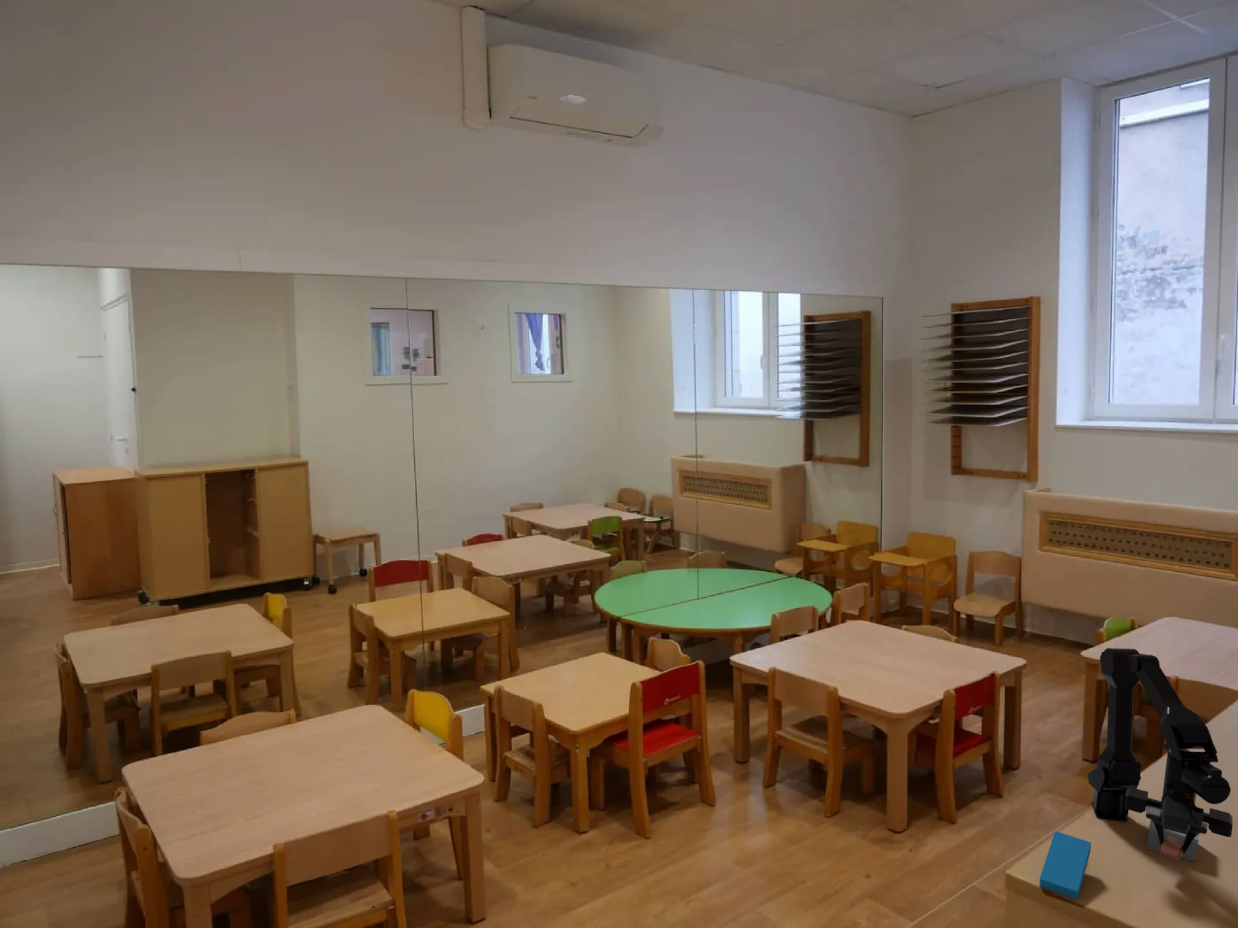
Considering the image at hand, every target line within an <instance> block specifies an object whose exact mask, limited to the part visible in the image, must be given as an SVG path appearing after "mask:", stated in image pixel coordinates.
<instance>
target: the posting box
mask: <svg viewBox="0 0 1238 928" xmlns="http://www.w3.org/2000/svg"><path fill="white" fill-rule="evenodd" d="M1149 820H1150V822H1149V828H1148V836H1147V843H1146V844H1147V845H1146V848H1147V849H1149V850H1154V851H1157V852H1161V845H1160V841H1159V838H1158V834H1157V830H1156V827H1155V825H1154V823H1153V821H1152V820H1151V819H1149ZM1186 832H1187V831H1186V830H1181V829H1180V828H1177V827H1173V826H1167V825H1165V824H1164V841H1165V840H1166V839H1167V837H1168V836H1171V837H1173V838H1176V839H1179V840H1182V841H1184V839H1185V836H1186ZM1199 837H1200V834H1198V835H1197V836H1196V837H1195V838H1194V839H1193V841H1192V842H1191V844H1190V846H1189V847H1188V849H1187V851H1186V852H1185V854H1184V853H1183V855H1182V856H1181V857H1180V858H1179V859H1184V860H1187V861H1192V862H1194V863H1196V862H1197V856H1198V849H1199V840H1200V838H1199Z"/></svg>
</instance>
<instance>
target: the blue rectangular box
mask: <svg viewBox="0 0 1238 928" xmlns="http://www.w3.org/2000/svg"><path fill="white" fill-rule="evenodd" d="M1091 849H1092V842H1091V841H1088V840H1085V839H1083V838H1079V837H1076V836H1072V835H1070V834H1066V833H1063V832H1059V831H1054V833H1053V835H1052V840H1051V843H1050V846H1049V848H1048V852H1047V855H1046V858H1045V861H1044V863H1043V868H1042V871H1041V874H1040V877H1039V888H1043V889H1047V890H1050V891H1052V892H1055V893H1057V892H1058V894H1061V895H1063V894H1064V896H1066V895H1067V896H1066V897H1068V898H1072V899H1075V900H1078V898H1079V896H1080V892H1081V888H1082V884H1083V881H1084V877H1085V873H1086V870H1087V869H1086V868H1087V866H1088V861H1089V858H1090V854H1091Z"/></svg>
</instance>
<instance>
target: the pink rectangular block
mask: <svg viewBox="0 0 1238 928" xmlns="http://www.w3.org/2000/svg"><path fill="white" fill-rule="evenodd" d="M1183 843H1184V841H1182V840H1179V839H1176V838H1173V837H1171V836H1168V837H1167V839H1166V840H1165V841H1164V842H1163V843H1162V844H1161V852H1160V851H1159V852H1160V854H1159V856H1160V857H1163V858H1165V859H1167V860H1170V861H1173V862H1175V863H1177V862H1178V861H1179V860H1180V859H1181V858H1180V857H1181V856H1182V855H1183V853H1182V851H1183Z"/></svg>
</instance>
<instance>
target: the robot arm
mask: <svg viewBox="0 0 1238 928" xmlns="http://www.w3.org/2000/svg"><path fill="white" fill-rule="evenodd" d="M1099 663H1100V668H1101V670H1100V671H1101V674H1102V677H1104V679H1105V680H1106V683H1107V684H1108V701H1107V703H1108V705H1107V733H1106V735H1107V736H1106V737H1107V738H1106V746H1105V748H1104V749H1103V751H1102V753H1100V755H1099V756H1098V760H1097V767H1096V768H1094V769H1092V770H1091V771H1090V772H1088V773H1087V778H1088V779H1087V780H1088V784H1089V785H1090V786H1091V787H1093V789H1094V791H1093V800H1092V801H1091V802H1090V805H1091V808H1092V809H1094V810H1093V812H1094V814H1095V817H1097V818H1101V819H1109V820H1113V821H1119V822H1121V821H1122V822H1128V816H1129V813H1130V812H1129V811H1131V812H1135V813H1139V814H1143V813H1145V817H1146V819H1149V820H1152V821H1153V823H1154V825H1155V827H1156V830H1157V834H1158V838H1159V841H1160V845H1161V844H1162V843H1163V842H1164V824H1165V825H1167V826H1173V827H1177V828H1180V829H1181V830H1186V831H1187V832H1186V836H1185V839H1184V843H1183V851H1182V853H1184V854H1185V852H1186V851H1187V849H1188V847H1189V846H1190V844H1191V842H1192V841H1193V839H1194V838H1195V837H1196V836H1197V835H1198V834H1199V835H1201V834H1202V835H1203V834H1204V835H1206V834H1207V833H1208V829H1209V831H1210V832H1211V833H1212V834H1215V835H1218V836H1222V837H1226V838H1231V837H1232V834H1233V833H1232V832H1233V826H1234V825H1233V816H1232V814H1231V813H1230V812H1227V811H1223V810H1219V809H1216V808H1211V807H1210V808H1209V810H1208V812H1206V811H1205V810H1204V808H1201V807H1199V806H1197V805H1196V800H1197V796H1198V797H1200V798H1201V800H1204V801H1205V803H1208V804H1210V805H1218V804H1221V803H1223V802H1225V801H1227V799H1228V798H1229V797H1230V794H1231V790H1232V789H1231V786H1230V783H1229V782H1228V780H1227V779H1226V778H1225V777H1223V771H1222V769H1220V768H1218V767H1216V766H1214V765H1213V764H1211V763H1219V758H1218V755H1217V754H1218V750H1217V749H1216V746H1215V743H1214V742H1213V738H1212V735H1211V732H1210V730H1209V728H1208V726H1207V725H1206V723H1205V722H1204V721H1203V720H1202V719H1201V717H1200V716H1199V715H1198V714H1197V713H1195V712H1194V711H1192V710H1191V709H1189V708H1187V706H1185V704H1184V703H1183V702H1182V700H1181V699H1180V697H1179V695H1178V694H1177V692H1176V690H1175V689H1174V687H1173V686H1172V684H1171V682H1170V681H1169V679H1168V677H1167V676H1166V674H1165V673H1164V671H1163V669H1162V667H1161V666H1160V665H1161V663H1160V660H1159V658H1158V657H1157V656H1155V655H1153V654H1145V653H1140V652H1139V651H1138V650H1137V649H1136V648H1116V647H1115V648H1113V647H1107V648H1105V649H1104V651H1101V654H1100V656H1099ZM1139 682H1140V683H1141V685H1142V687H1143V688H1144V690H1145V692H1146V693H1147V695H1148V697H1149V699H1150V701H1151V702H1152V703H1153V706H1154V707H1155V709H1156V711H1157V713H1158V714H1159V716H1160V723H1159V729H1160V731H1161V734H1162V736H1163V739H1164V741H1165V742H1164V743H1162V744H1161V748H1162V749H1164V751H1166V752H1167V753H1166V763H1165V769H1164V780H1163V788H1162V796H1161V800H1158V799H1154V798H1150V797H1149V791H1147V790H1142V789H1139V788H1138V786H1139V785H1140V782H1141V780H1142V778H1141V777H1142V776H1141V768H1142V765H1141V762H1140V761H1138V760H1137V758H1135V757H1136V756H1135V755H1134V754H1133V752H1132V740H1133V738H1132V734H1133V714H1134V712H1133V709H1134V690H1135V688H1136V686H1137V685H1138V684H1139ZM1191 750H1192V751H1191ZM1193 750H1203V751H1193Z"/></svg>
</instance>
